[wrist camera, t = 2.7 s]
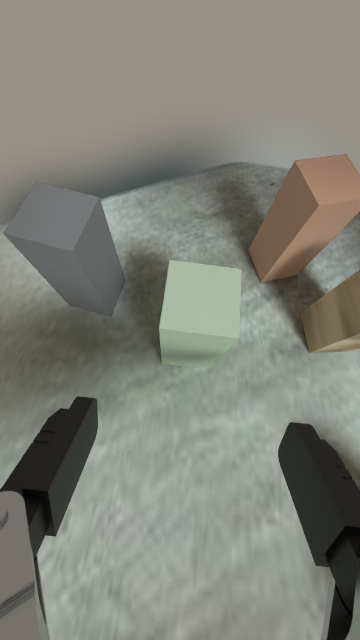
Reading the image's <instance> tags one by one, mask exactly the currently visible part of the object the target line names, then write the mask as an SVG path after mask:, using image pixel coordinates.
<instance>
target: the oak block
mask: <svg viewBox="0 0 360 640" xmlns="http://www.w3.org/2000/svg"><path fill="white" fill-rule="evenodd" d="M300 315H301V319H302V323H303V327H304V332H305V336H306V340H307V344H308V348H309V352H310V353H320V352H341V351H352V350H356V349H359V348H360V270H359V271H358V272H356V273H355V274H354V275H352V276H351V277H349V278H348V279H347V280H345V281H344V282H342V283H341V284H340V285H338V286H337V287H335V288H334V289H333V290H331V291H330V292H328V293H327V294H326V295H324V296H323V297H321V298H320V299H319V300H317V301H316V302H314V303H313V304H312V305H310V306H309V307H307V308H306V309H305V310H303V311H302V312H300Z"/></svg>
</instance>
